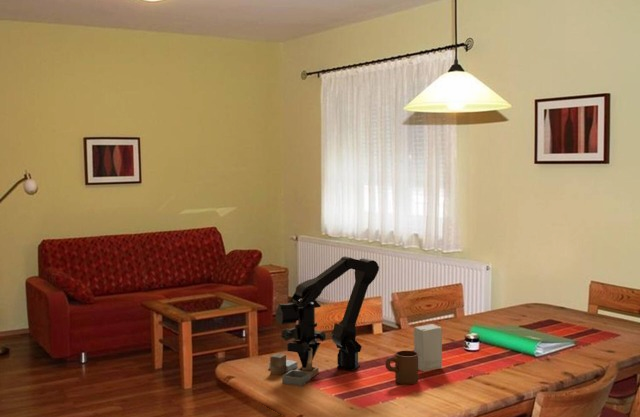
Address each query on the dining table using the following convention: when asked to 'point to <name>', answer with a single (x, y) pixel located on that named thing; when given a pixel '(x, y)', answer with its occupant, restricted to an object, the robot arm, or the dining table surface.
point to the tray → (296, 377)
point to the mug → (404, 367)
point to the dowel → (309, 364)
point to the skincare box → (428, 346)
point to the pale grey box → (290, 365)
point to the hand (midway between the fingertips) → (306, 365)
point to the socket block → (314, 371)
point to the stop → (278, 364)
